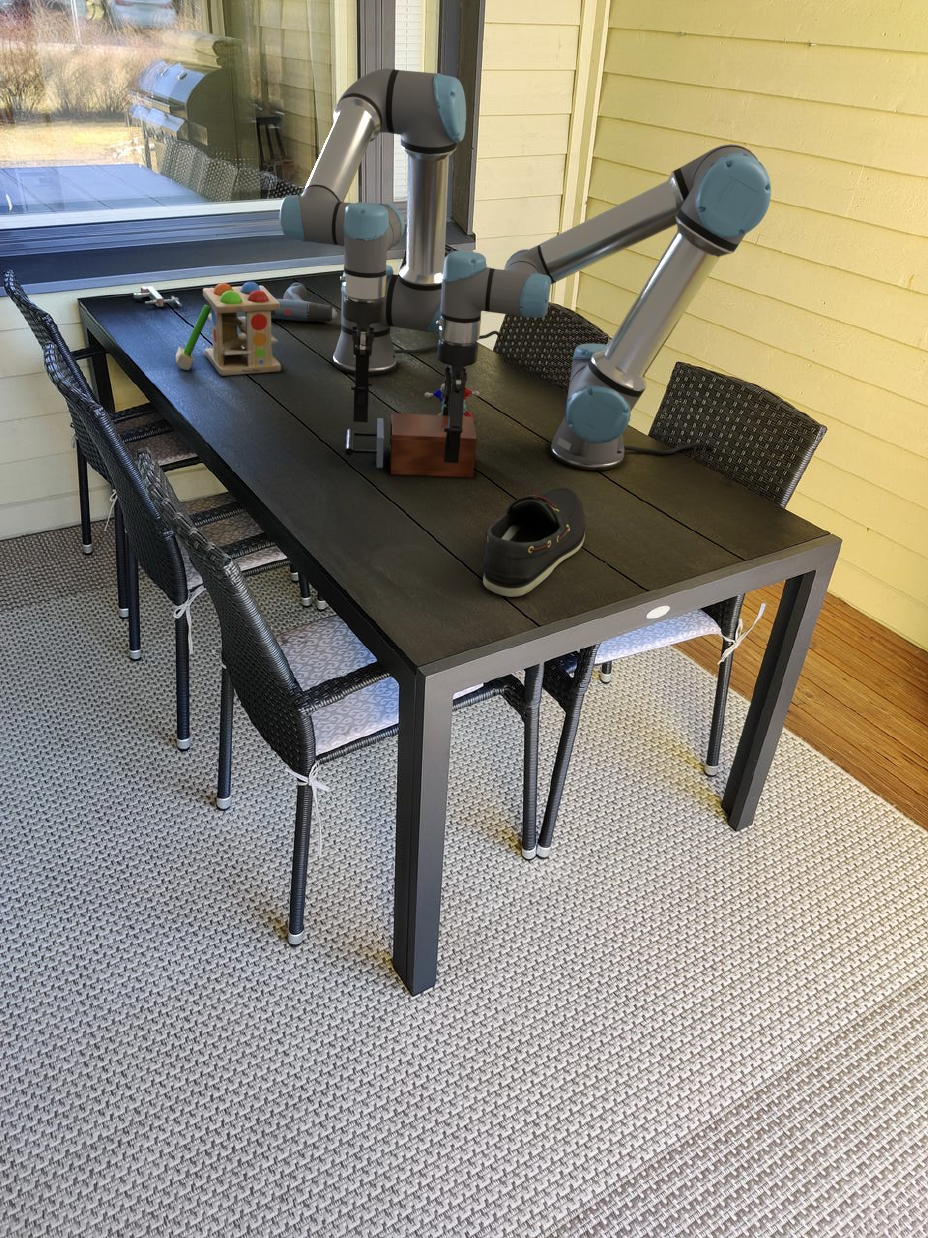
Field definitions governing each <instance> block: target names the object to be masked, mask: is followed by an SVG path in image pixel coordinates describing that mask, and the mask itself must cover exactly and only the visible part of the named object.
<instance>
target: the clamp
mask: <svg viewBox="0 0 928 1238" xmlns="http://www.w3.org/2000/svg"><path fill="white" fill-rule="evenodd" d="M133 297H134V299H143V298H149V299H150V300H149V301H144V304H145V305H147V304H149V305H154V304H155V305H156V307H164V305H165V304H171V303H173V304H177V305H178V307H179V308H180V307H183V303H181V302H180V300H179V298H178V297H175V296H174V295H171V296H170V299H164V297H163V296H162V295H161V294H160V293H159V292H158V291H157V290H156V289H155V288H154V287H153V286H151V285H149V286H140V292H134V293H133Z"/></svg>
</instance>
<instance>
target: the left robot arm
mask: <svg viewBox="0 0 928 1238" xmlns="http://www.w3.org/2000/svg"><path fill="white" fill-rule="evenodd" d="M333 120H334V123H333V125H332V128H331V130H330V132H329V135H328V137H327V138H326V140H325V143H324V145H323V148H322V150H321V153H320V154H319V157H318V159H317V160H316V163H315V165H314V168H313V170H312V172H311V174H310V177H309V179H308V181H307V183H306V185H305V188H304V189H303V191H302V193H301V195H299V194H295V195H293V194H291V195H290V194H289V195H286V196H285V197H284V198H283V199H282V202H281V205H280V209H279V225H280V229H281V232H282V234H283V236H285V237H286V238H288V239H292V240H297V241H302V242H304V243H306V242H308V243H314V244H315V243H316V244H323V245H334V246H340V247H343V274H342V275H341V276H340V278H339V281H340V282H341V287H340V292H341V316H340V317H341V319H340V321H341V324H340V325H341V326H340V329H341V330H340V336H339V338H338V341H337V344H336V348H335V350H334V352H333V361H332V362H333V363H332V364H333V366H334V367H335V368H337V369H338V370H339V371H342V372H344V373H347V374H352V375H354V382H353V383H354V385H350V391H353V423H354V422H355V423H368V421H369V420H368V419H369V392H370V391H369V389H370V387H373V382H372V381H369V378H370V376H380V375H381V376H382V375H386V374H389V373H391V372H393V371H395V369H396V368H397V361H398V359H397V354H419V353H423V352H424V353H425V352H428V351H432V350H434V349H438V343H437V344H433V345H430V346H426V347H422V348H417V349H395V347H394V343H393V341H392V337H391V336H392V335H391V327H392V328H399V329H406V330H411V331H412V330H413V331H419V332H424V333H438V334H439V327H440V326H437V325H436V321H439V320H441V319H440V309H441V290H442V277H443V270H444V261H445V257H446V255H445V254H446V232H447V231H446V229H447V210H448V209H447V207H448V185H449V183H448V181H449V163H450V161H449V159H450V156H451V155H452V154H453V153H454V152H455V151H456V150H457V143H459V142H460V143H461V142H462V141H463V140H464V138H465V133H466V122H467V103H466V97H465V91H464V88H463V85H462V82H461V81H460V80H459V79H458V78H456V77H455V76H450V75H444V74H442V73H439V72H437V73H436V72H425V71H415V70H414V71H413V70H405V69H403V70H402V69H395V68H387V67H386V68H379V69H376V70H374V71H371V72H369V73H367V74H364V75H363V76H361V77H360V78H358V79H357V80H355V81H354V82H353V83H352V84H351V85H350V86H349V87H348V88H347V89H345V91H344V92H343V93H342V94H341V96H340V98H339V99H338V101H337V103H336V105H335V108H334V110H333ZM381 133H388V134H393V135H398V136H399V135H400V147H401V148H402V150H403V151H404V152H405V153H406V154H407V184H406V185H407V193H406V194H407V195H406V196H407V197H406V223H405V218H404V216H403V214H402V212H401V211H400V209H399V208H397V206H395V205H393V204H392V203H387V202H382V203H381V202H380V203H374V202H367V201H364V202H362V201H361V202H346V201H345V200H346V198H347V195H348V193H349V190H350V188H351V187H352V183H353V181H354V179H355V177H356V174H357V172H358V170H359V167H360V165H361V162H362V160H363V158H364V156H365V154H366V151H367V150H368V146H369V144H370V143H371V142H373V141H374V140H376V138H378V136H379V134H381ZM405 229H406V259H405V260H406V261H405V264H404V265H403V266H402V267H401V268H400V269H399V274H396V273H395V272H394V269H393V267H392V266H391V265H390V264H387V260H388V259H387V258H388V251H390V250H391V249H392V248H394V247H396V246H397V245H398V244H399V242H400V241H401V238H402V237H403V235H404V233H405ZM394 273H395V274H394ZM494 335H496V336H497V337H501V336H500V335H501V333H500V332H499V331H498V330H492V331H489V333H486V334H483V335H479V340H483V339H487V338H490V337H492V336H494Z"/></svg>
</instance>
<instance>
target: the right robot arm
mask: <svg viewBox="0 0 928 1238" xmlns="http://www.w3.org/2000/svg"><path fill="white" fill-rule="evenodd" d="M771 197H772V185H771V179H770V176H769V173H768V171H767V169H766V168H765V166H764V165H763V163H762V162H760V160H759V159H758V158H757V156H756V155H755V154H754V153H753V152H752V151H751V150H750V149H748V148H746V147H744V146H742V145H738V144H731V143H729V144H724V145H719V146H717V147H714V148H712V149H710V150H708V151H707V152H705V153H703V154H702V155H699V156H698V157H696V158H694V159H693V160H690V161H689V162H687V163H685V164H684V165H682V166H680V167H679V168H676V169H674V170H672V171H671V172H670V175H669V177H668V178H667V180H665V181H663V182H661V183H660V184H657V185H655V186H653V187H652V188H649V189H647V190H645V191H644V192H642V193H639V194H637V195H635V196H633V197H632V198H629V199H627V200H625V201H624V202H622V203H620V204H617V205H615V206H614V207H611V208H610V209H608V210H605V211H604V212H602V213H599V214H597V215H595V216H593V217H592V218H589V219H588V220H585V221H583V222H581V223H579V224H577V225H576V226H573V227H571V228H569V229H566V231H563V232H561V233H559V234H557V235H556V236H553V237H551V238H549V239H547V240H546V241H543V242H541V243H539V244H538V245H535V246H533V247H531V248H529V249H528V248H525V249H524V248H523V249H520V250H517V251H516V252H514V253H513V254H512V255H510V257H509V258H508V260H507V261H506V262H505V265H504V267H503V269H502V268H501V269H500V268H494V267H488V264H487V259H486V256H485V255H483V254H482V253H480V252H474V251H472V250H453V251H451V252H449V253H447V254H446V255H445V258H444V270H443V277H442V290H441V309H440V319H441V320H439V321H436V325H437V326H440V327H439V333H438V337H439V339H438V340H437V344H438V348H436V350H437V352H436V358H437V360H438V361H439V362H441V363H442V364H444V365H446V366H445V367H444V384H445V386H444V390H443V393H442V398H443V403H444V405H446V406H443V415H446V416H448V427H447V428H444V432H446V444H445V456H444V462H449V463H458V461H459V449H460V438H461V433H462V432H463V429H462V424H463V416H464V414H463V406H464V404H465V403H464V394H465V389H466V384H467V379H468V373H467V372H466V371H467V368H466V367H467V366H468V367H469V366H473V365H474V364H475V363H476V362H477V361H478V352H479V351H478V350H479V342H478V341H479V340H480V339H479V336H481V335H480V333H481V324H482V312H486V313H493V314H501V315H509V316H514V317H515V316H516V317H523V318H526V319H530V318H534V319H536V318H537V319H541V318H544V317H546V315H547V313H548V308H549V307H548V306H549V301H550V294H551V287H552V285H553V284H555V283H557V282H559V281H562V280H563V279H565V278H566V279H567V278H568V277H569V276H572V275H574V274H576V273H578V272H580V271H583V270H584V269H586V268H589V267H591V266H593V265H595V264H597V263H599V262H601V261H603V260H605V259H607V258H610V257H611V256H614V255H616V254H619V253H620V252H622V251H624V250H626V249H629V248H631V247H633V246H635V245H637V244H639V243H641V242H643V241H645V240H647V239H649V238H652V237H653V236H656V235H658V234H660V233H662V232H664V231H666V230H669V229H671V228H673V227H675V226H676V227H677V228H676V229H677V230H676V232H675V234H674V236H673V238H672V239H671V241H670V242H669V244H668V246H667V247H666V249H665V250H664V252H663V254H662V255H661V257H660V259H659V261H657V264H656V266H655V267H654V269H653V270H652V271H651V273H650V275H649V277H648V278H647V280H646V282H645V284H644V285H643V286H642V288H641V290H640V292H639V293H638V295H637V297H636V299H634V302H633V303H632V305H631V306H630V308H629V310H628V311H627V313H626V315H625V316H624V317H623V319H622V322H621V323H620V325H619V327H618V328H617V330H616V331H615V333H614V335H612V338H611V340H610V341H609V342H608V344H604V343H583V344H579V345H577V346H576V347H575V349H574V352H573V356H572V357H571V360H572V363H571V371H570V378H569V382H568V383H569V384H568V390H567V396H566V404H565V410H564V416H563V418H562V420H561V423H560V424H559V426H558V428H557V430H556V432H555V435H554V436H553V438H552V441H551V445H550V454H551V456H552V457H553V458H554V459H555V460H556V461H558V462H560V463H562V464H563V465H566V466H568V467H571V468H575V469H578V470H585V471H597V472H598V471H599V472H601V471H608V470H613V469H615V468H618V467H619V466H621V465H622V463H623V462H624V459H625V451H630V452H631V451H632V452H638V453H644V454H645V453H646V454H652V455H672V454H675V453H677V452H680V451H682V450H689V449H692V448H698V447H702V446H701V445H702V444H701V443H700V442H701V441H699V442H692V443H688V444H683V445H679V446H676V447H674V448H671V449H663V450H662V449H651V448H645V447H637V446H631V445H624V444H625V443H624V438H623V434H624V432H625V431H626V429H627V428H628V425H629V423H630V421H631V412H632V411H633V409H634V408H635V406H636V404H637V403H638V401H639V400H640V398H641V397H642V395H643V394H644V392H645V390H646V389H647V382H646V378H645V376H646V374H647V372H648V371H649V369H650V367H651V366H652V364H653V362H654V361H655V360H656V358H657V356H658V355H659V354H660V352H661V350H662V349H663V347H664V345H665V344H666V342H667V340H668V339H669V338H670V336H671V335H672V333H673V332H674V330H675V329H676V327H677V325H678V324H679V322H680V321H681V320H682V317H683V316H684V314H685V313H686V311H687V310H688V308H689V307H690V305H691V303H692V302H693V301H694V299H695V297H696V295H697V294H698V293H699V292H700V289H701V288H702V286H703V285H704V283H705V282H706V280H707V278H708V276H709V275H710V274H711V272H712V271H713V269H714V268H715V266H716V265H717V264H718V261H719V260H720V258H723V257H724V256H728V255H732V254H734V253H735V252H736V250H737V249H738V247H739V245H740V244H741V242H742V241H743V239H744V238H745V236H746V235H747V234H748V233H750V232H752V230H754V229H755V228H756V227H757V226H758V225H759V224H760V223H761V222H762V221H763V219H764V217H765V216H766V214H767V212H768V210H769V207H770V204H771V199H772V198H771ZM704 447H706V448H708V449H709V450H710V451H713V452H714V451H716V448H715V447H714V448H715V449H714V448H712V447H710V446H704Z"/></svg>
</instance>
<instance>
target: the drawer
mask: <svg viewBox="0 0 928 1238" xmlns="http://www.w3.org/2000/svg"><path fill="white" fill-rule="evenodd" d="M384 419H385V418H384V417H378V418H377V421H376V422H377V424H376V427H377V428H376V432H366V431H364V432H363V431H355V430H354V429H353V428H348V429H346V431H345V445H344V453H345V455H347V456H350V457H351V456H353V454H370V455H376V468H378V469H380V468H381V469H383V468H384V467H383V466H384V447H385V444H384V443H385V430H384V429H385V422H384V421H385V420H384ZM389 430H390V431H389V432H390V433H389V465H390V466H391V455H392V420H391V421H390V429H389ZM355 437H374V438H375V437H376V449H363V448H355Z"/></svg>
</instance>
